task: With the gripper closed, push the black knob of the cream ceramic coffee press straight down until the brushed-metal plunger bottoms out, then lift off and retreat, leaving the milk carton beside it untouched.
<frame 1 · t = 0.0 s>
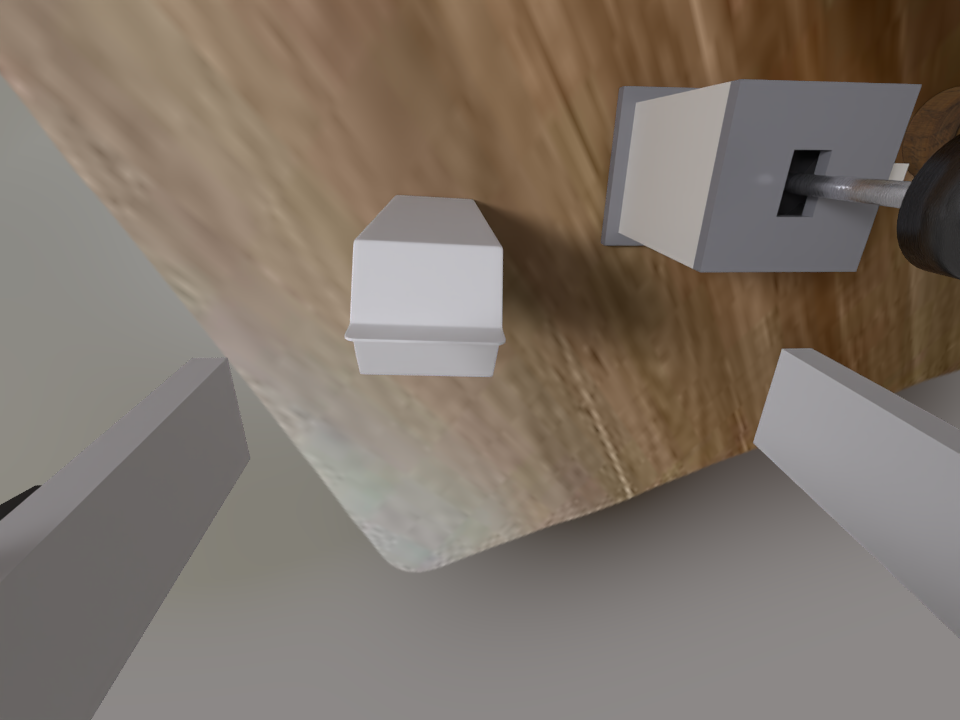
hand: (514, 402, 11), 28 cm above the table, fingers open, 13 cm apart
press: (678, 171, 36), on the table
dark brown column: (940, 135, 37), on the table
plunger: (863, 190, 20), point 18 cm above the table, slide at 0.0 cm
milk: (434, 236, 37), on the table
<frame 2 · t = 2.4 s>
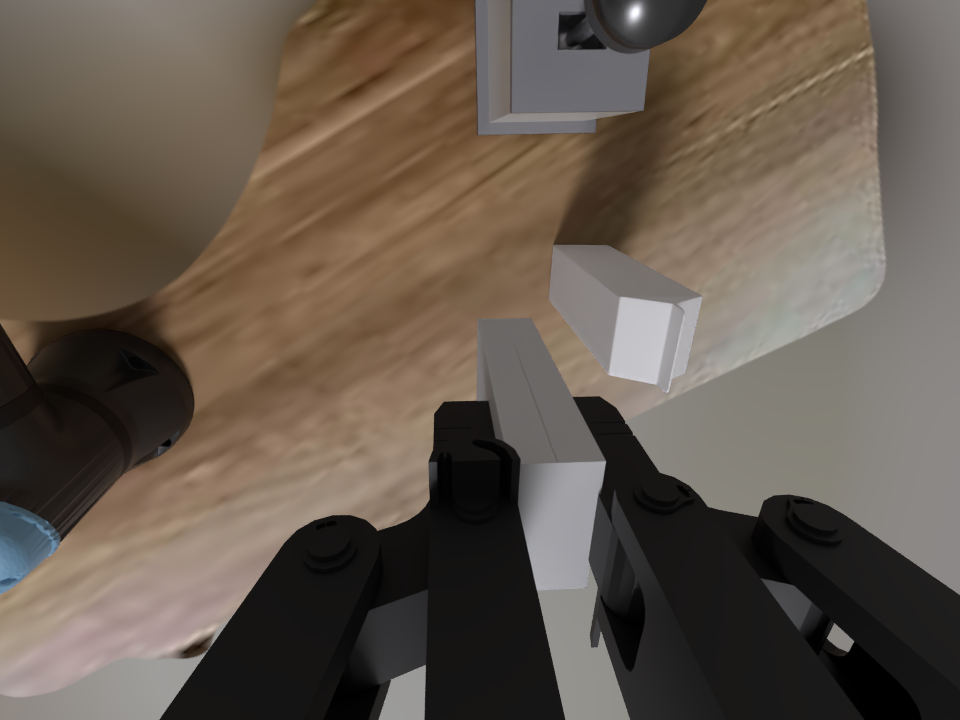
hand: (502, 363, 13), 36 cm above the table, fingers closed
press: (536, 65, 42), on the table
plunger: (603, 15, 26), point 18 cm above the table, slide at 0.0 cm
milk: (577, 272, 50), on the table
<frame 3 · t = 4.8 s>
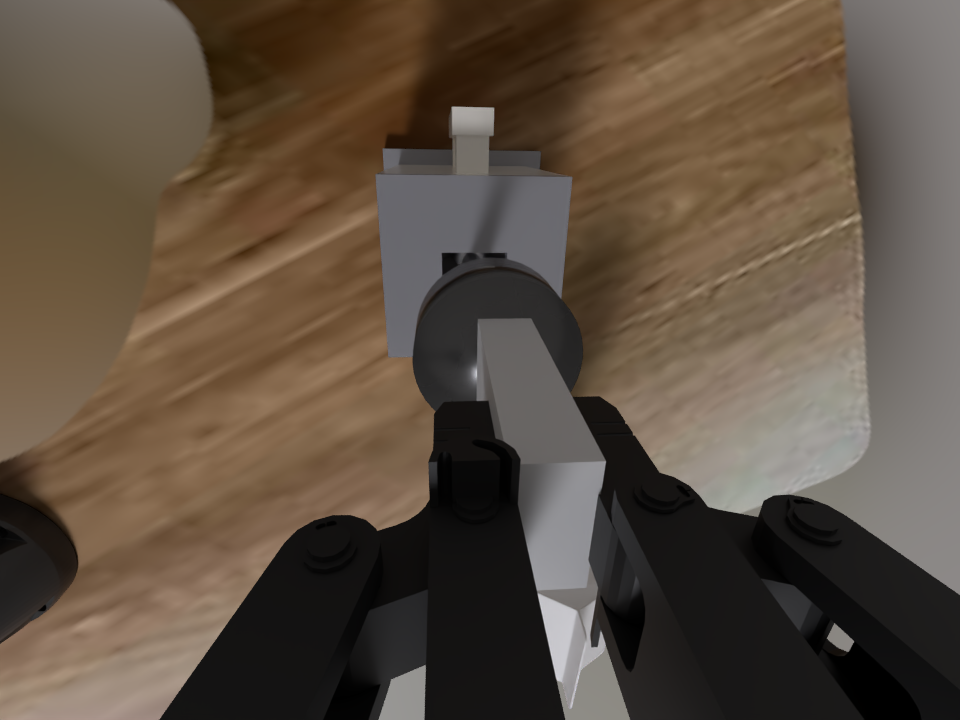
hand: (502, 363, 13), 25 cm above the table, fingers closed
press: (462, 228, 36), on the table
plunger: (480, 293, 20), point 17 cm above the table, slide at 0.1 cm, touching gripper
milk: (515, 435, 44), on the table
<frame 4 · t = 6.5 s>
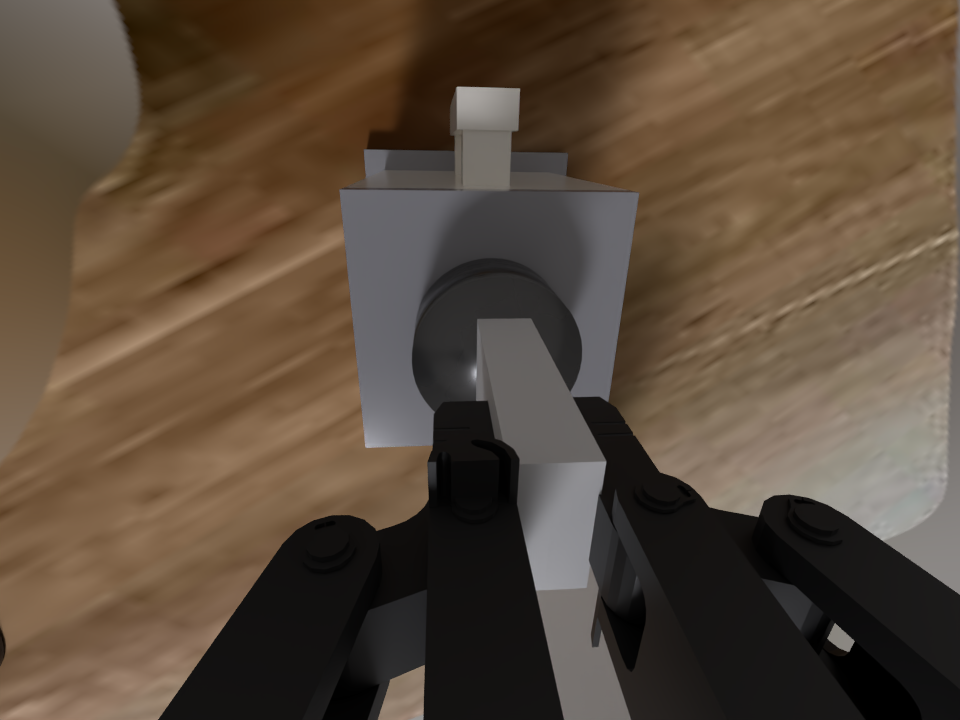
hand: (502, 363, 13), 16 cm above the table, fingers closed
press: (466, 250, 28), on the table
plunger: (478, 294, 20), point 9 cm above the table, slide at 8.2 cm, touching gripper, press
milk: (528, 493, 37), on the table
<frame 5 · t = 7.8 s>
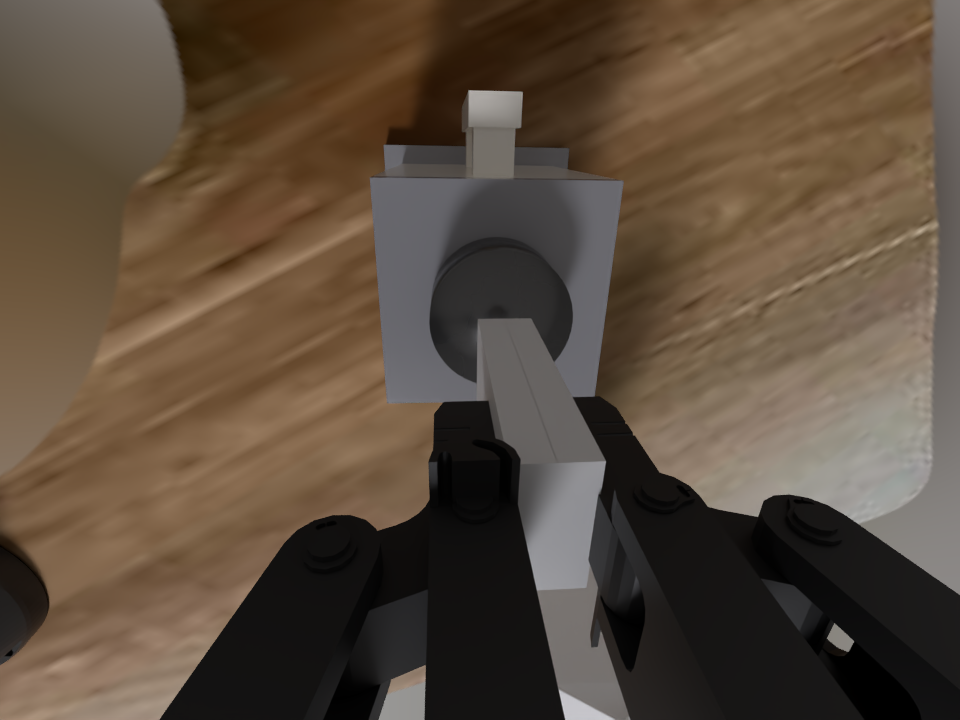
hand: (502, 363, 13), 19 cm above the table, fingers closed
press: (475, 237, 31), on the table
plunger: (486, 273, 23), point 9 cm above the table, slide at 8.2 cm, touching press
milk: (532, 467, 39), on the table
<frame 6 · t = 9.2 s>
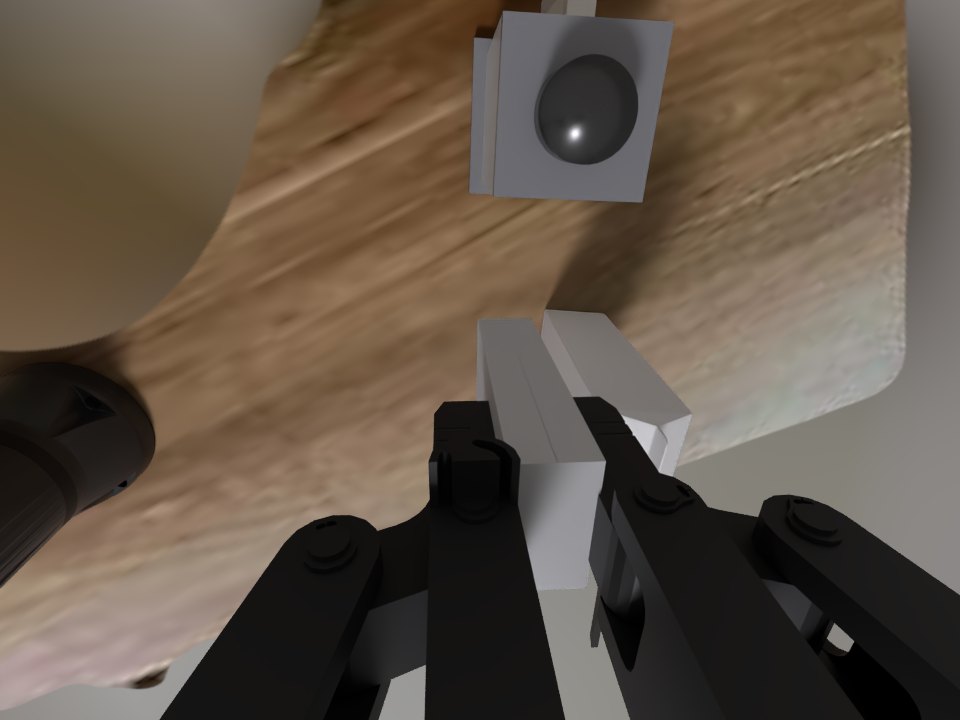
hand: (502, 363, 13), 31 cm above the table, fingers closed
press: (537, 124, 39), on the table
plunger: (561, 118, 30), point 9 cm above the table, slide at 8.2 cm, touching press
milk: (568, 338, 47), on the table
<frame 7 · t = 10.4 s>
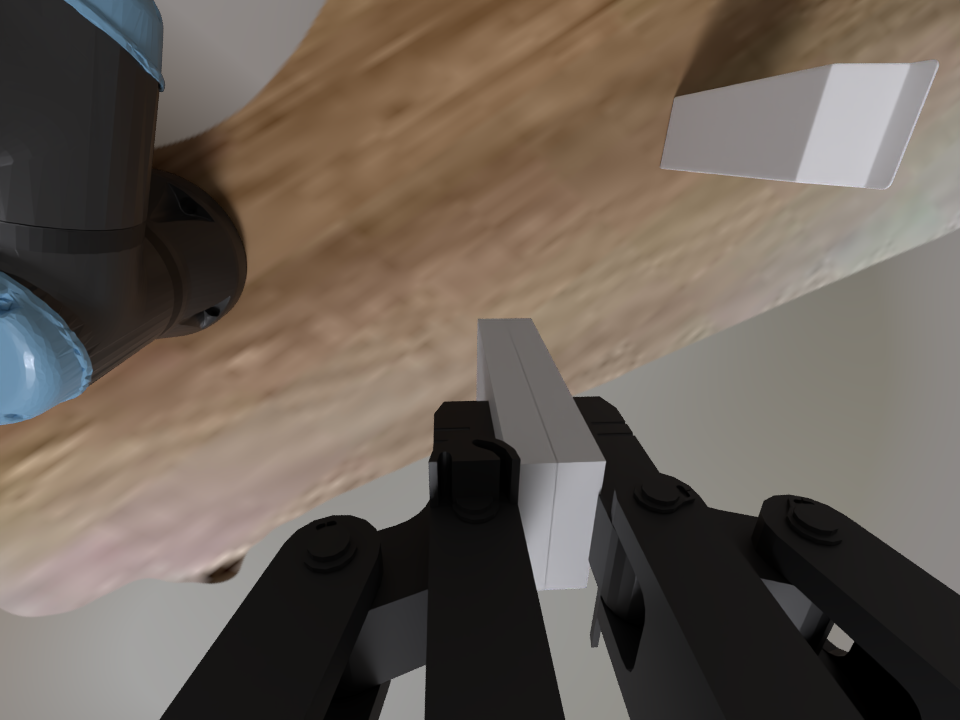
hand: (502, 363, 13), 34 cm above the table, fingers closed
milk: (695, 136, 44), on the table
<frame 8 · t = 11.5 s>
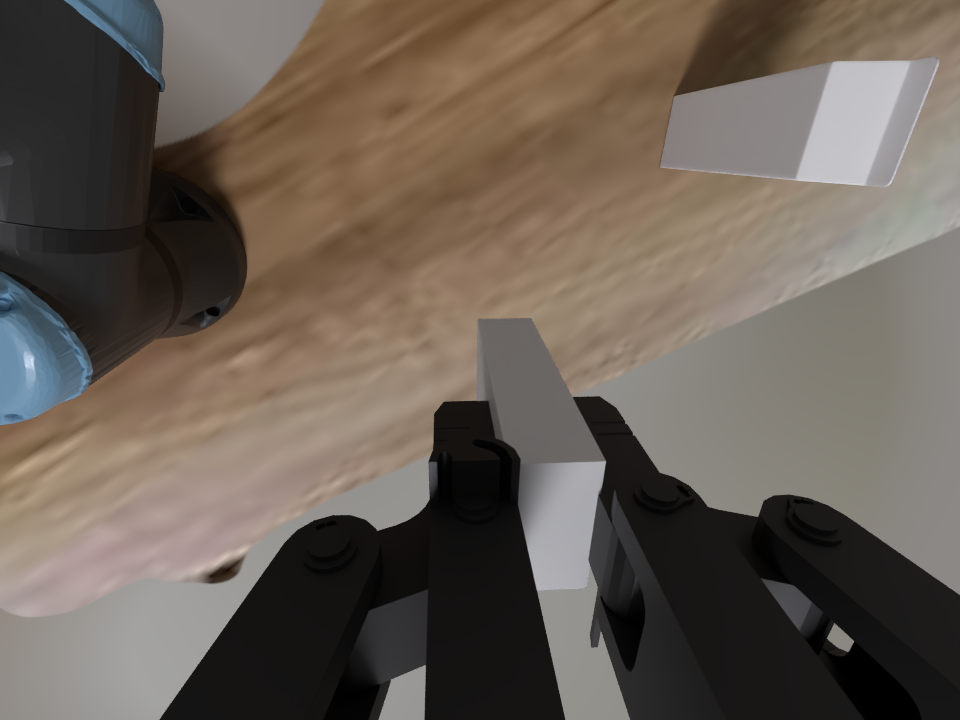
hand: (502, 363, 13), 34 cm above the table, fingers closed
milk: (695, 134, 44), on the table
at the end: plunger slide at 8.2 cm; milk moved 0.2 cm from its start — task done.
